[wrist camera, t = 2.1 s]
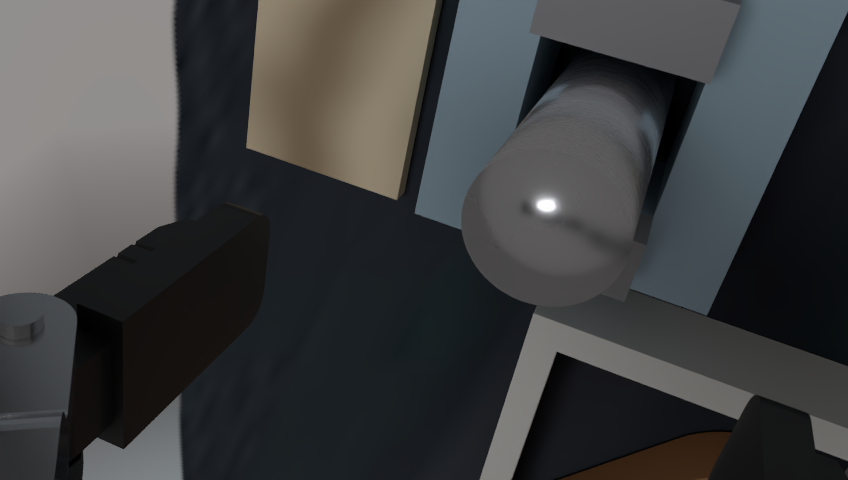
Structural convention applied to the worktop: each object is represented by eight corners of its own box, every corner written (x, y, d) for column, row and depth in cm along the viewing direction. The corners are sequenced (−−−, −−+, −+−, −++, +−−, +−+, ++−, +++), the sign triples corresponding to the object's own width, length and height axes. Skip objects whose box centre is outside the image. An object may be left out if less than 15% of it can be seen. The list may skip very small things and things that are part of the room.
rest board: (448, -29, 28) (441, -26, 27) (404, 192, 32) (396, 200, 31) (275, -77, 29) (264, -75, 28) (256, 141, 34) (246, 147, 33)
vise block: (833, -29, 24) (866, 9, 18) (711, 247, 28) (704, 349, 23) (523, -106, 26) (458, -95, 20) (459, 164, 31) (392, 237, 25)
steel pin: (691, 44, 26) (657, 182, 15) (655, 142, 28) (600, 330, 17) (587, 15, 27) (481, 126, 16) (559, 113, 28) (445, 273, 17)
